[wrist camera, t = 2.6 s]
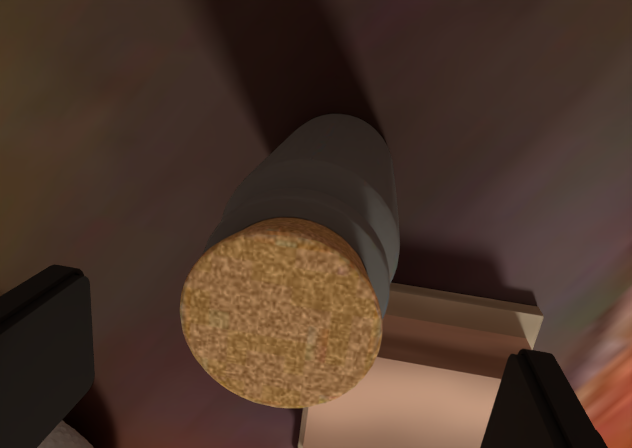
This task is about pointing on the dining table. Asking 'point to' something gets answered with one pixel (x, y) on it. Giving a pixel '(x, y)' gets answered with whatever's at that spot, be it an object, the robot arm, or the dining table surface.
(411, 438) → the pedestal
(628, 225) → the dining table surface
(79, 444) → the cereal bowl
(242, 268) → the bottle
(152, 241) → the dining table surface
